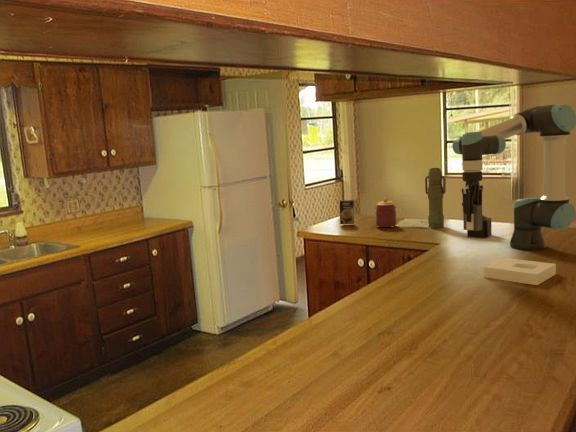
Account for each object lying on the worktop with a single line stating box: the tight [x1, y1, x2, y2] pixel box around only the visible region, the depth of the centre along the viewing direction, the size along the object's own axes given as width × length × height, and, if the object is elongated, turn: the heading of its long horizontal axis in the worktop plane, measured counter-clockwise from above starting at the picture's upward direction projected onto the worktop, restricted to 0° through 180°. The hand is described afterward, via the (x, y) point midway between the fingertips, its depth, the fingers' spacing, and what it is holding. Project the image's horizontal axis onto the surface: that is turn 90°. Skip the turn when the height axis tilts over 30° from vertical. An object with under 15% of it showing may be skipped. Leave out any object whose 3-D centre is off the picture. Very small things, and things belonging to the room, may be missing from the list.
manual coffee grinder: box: [461, 202, 492, 239], centre depth 281 cm, size 16×11×18 cm
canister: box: [374, 197, 398, 227], centre depth 325 cm, size 13×13×18 cm
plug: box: [462, 204, 483, 231], centre depth 213 cm, size 4×6×10 cm, turn 44°
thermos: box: [424, 167, 447, 229], centre depth 311 cm, size 9×12×35 cm
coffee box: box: [339, 199, 355, 225], centre depth 338 cm, size 9×6×16 cm
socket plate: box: [482, 257, 557, 286], centre depth 202 cm, size 18×20×4 cm
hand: (472, 228), depth 214 cm, fingers closed on plug, 4 cm apart
